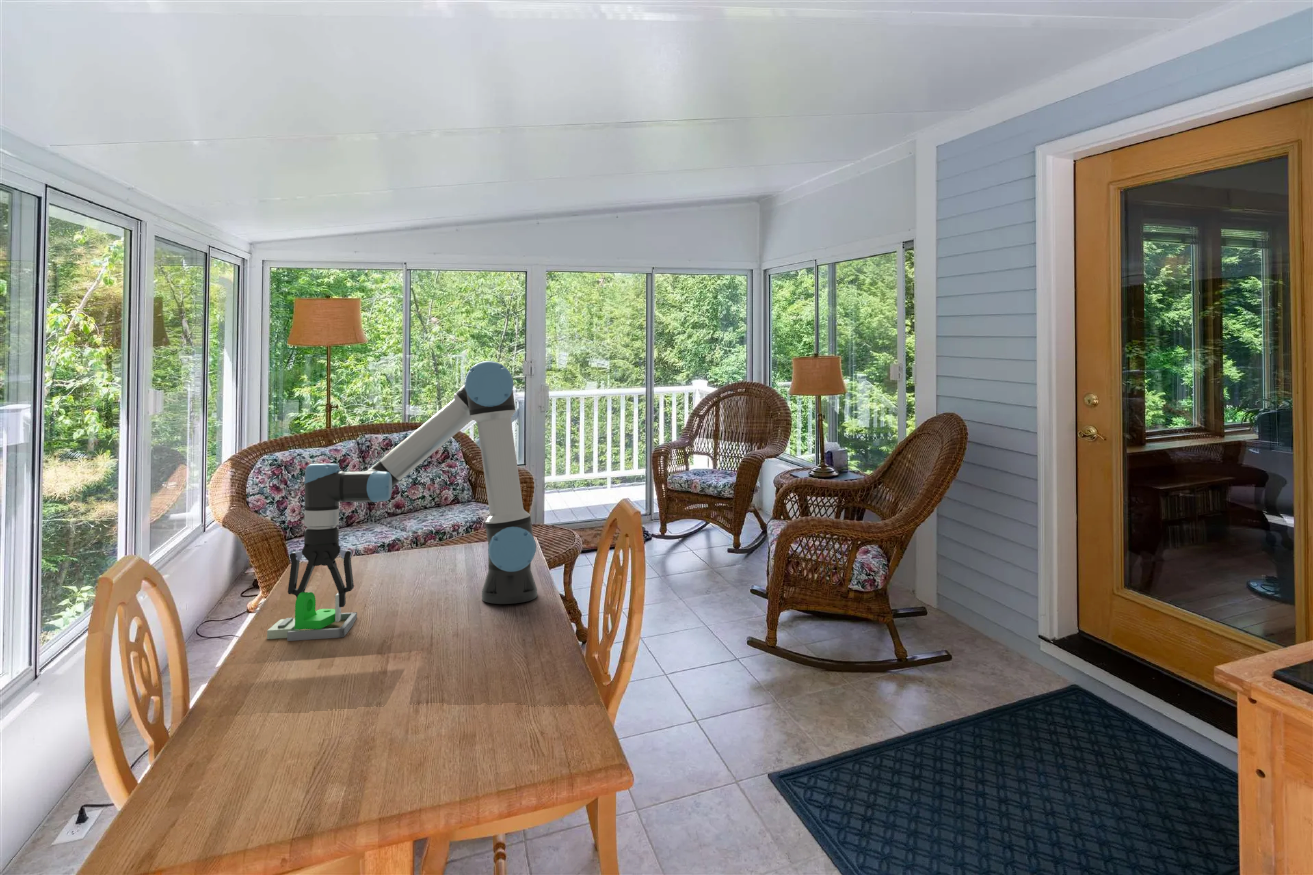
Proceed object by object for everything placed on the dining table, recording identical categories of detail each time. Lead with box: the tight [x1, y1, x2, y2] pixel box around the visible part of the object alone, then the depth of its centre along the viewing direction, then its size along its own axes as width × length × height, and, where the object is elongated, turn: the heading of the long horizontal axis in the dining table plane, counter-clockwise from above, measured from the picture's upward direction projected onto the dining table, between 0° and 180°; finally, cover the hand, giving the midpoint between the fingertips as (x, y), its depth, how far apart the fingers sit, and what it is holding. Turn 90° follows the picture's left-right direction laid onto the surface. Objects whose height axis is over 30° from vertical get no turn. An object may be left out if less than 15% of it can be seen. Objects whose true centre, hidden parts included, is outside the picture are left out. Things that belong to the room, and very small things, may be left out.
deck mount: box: [266, 611, 358, 642], centre depth 161 cm, size 17×16×3 cm
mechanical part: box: [294, 591, 336, 630], centre depth 161 cm, size 12×6×8 cm, turn 1°
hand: (321, 621), depth 162 cm, fingers closed on mechanical part, 7 cm apart
